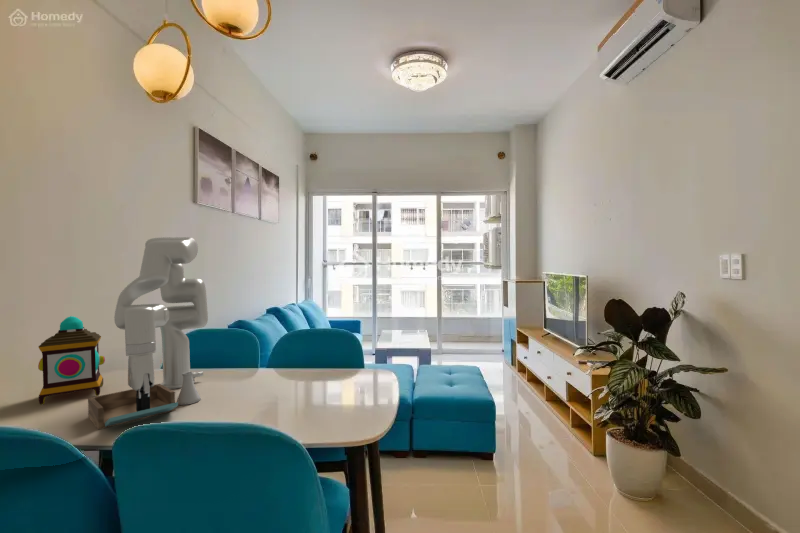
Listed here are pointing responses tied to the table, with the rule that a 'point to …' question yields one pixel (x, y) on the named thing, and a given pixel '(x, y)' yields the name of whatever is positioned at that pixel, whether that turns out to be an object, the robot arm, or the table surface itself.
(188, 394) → the flask
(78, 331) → the decorative lantern
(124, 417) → the teal panel
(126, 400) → the crate
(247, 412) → the table surface
